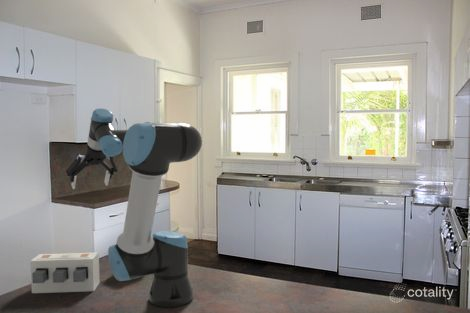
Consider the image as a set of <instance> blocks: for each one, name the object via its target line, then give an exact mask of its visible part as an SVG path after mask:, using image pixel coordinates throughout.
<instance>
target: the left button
mask: <svg viewBox="0 0 470 313" xmlns="http://www.w3.org/2000/svg"><path fill="white" fill-rule="evenodd" d="M32 279H33V283H44V282H45V281H46V280H47V279H48V274H47V269H37V270H36V271H35V272H33V273H32Z"/></svg>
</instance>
